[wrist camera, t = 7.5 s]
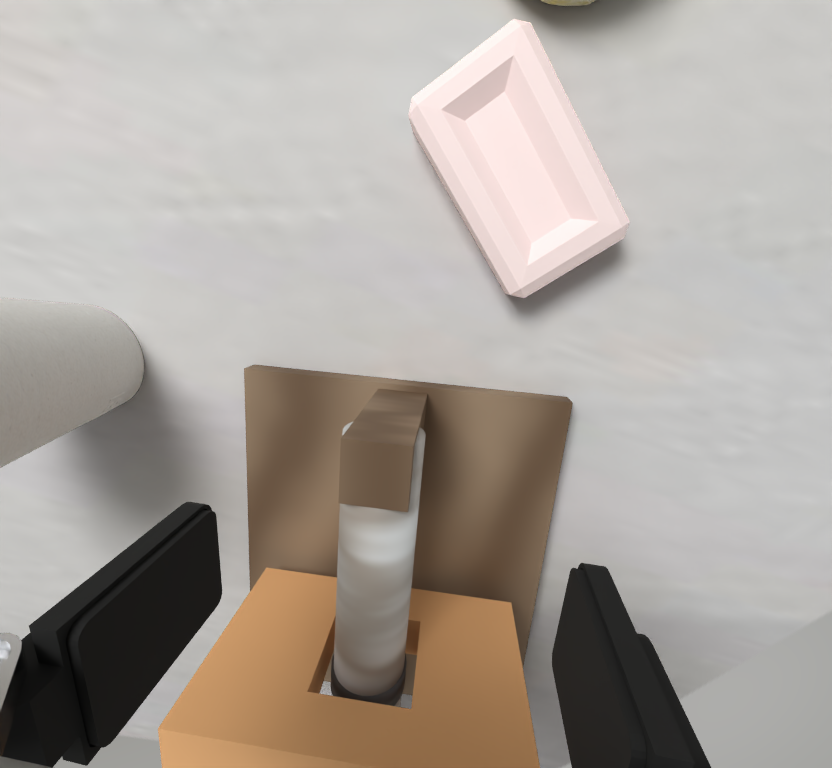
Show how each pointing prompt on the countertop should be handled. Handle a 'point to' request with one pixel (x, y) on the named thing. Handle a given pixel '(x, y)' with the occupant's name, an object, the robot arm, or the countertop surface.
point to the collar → (347, 718)
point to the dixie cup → (60, 370)
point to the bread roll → (568, 2)
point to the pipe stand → (399, 502)
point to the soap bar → (517, 161)
